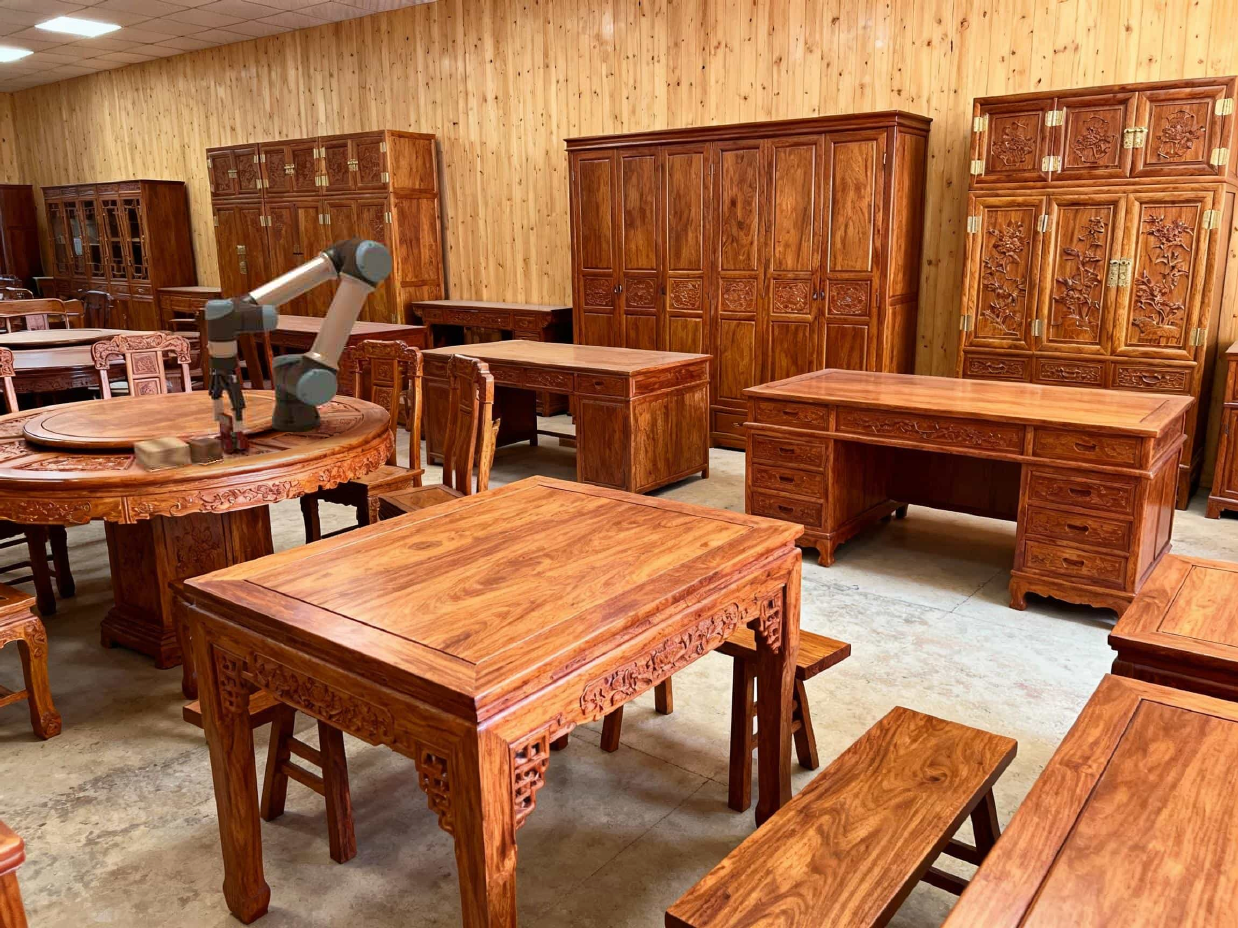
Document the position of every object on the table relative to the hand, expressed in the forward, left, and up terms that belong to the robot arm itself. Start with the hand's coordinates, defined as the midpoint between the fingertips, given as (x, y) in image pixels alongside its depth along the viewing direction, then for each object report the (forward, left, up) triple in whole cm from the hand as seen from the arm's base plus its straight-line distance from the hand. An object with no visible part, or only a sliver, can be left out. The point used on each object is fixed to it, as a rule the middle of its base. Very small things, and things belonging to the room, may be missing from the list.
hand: (228, 426), depth 270 cm
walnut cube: (+10, +6, -7) cm, 13 cm away
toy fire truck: (0, 0, -8) cm, 8 cm away
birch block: (+20, +1, -8) cm, 21 cm away
